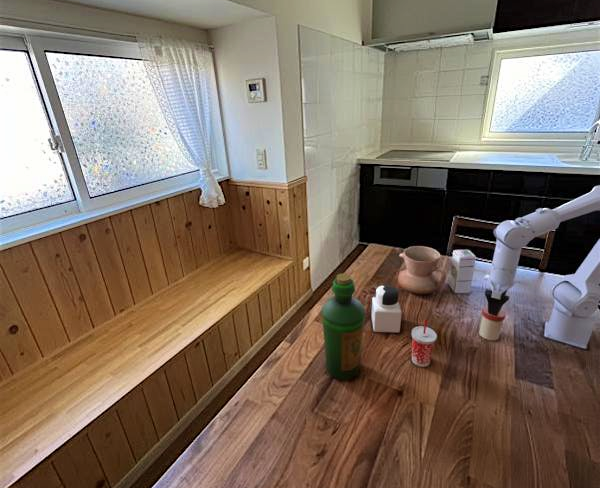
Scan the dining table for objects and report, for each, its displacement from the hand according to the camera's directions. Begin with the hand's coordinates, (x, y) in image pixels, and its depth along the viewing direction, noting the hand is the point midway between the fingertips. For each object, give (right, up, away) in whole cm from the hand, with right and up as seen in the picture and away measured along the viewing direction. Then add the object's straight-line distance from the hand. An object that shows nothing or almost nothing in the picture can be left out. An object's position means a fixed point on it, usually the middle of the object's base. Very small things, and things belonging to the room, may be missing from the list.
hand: (494, 307), depth 94 cm
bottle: (-44, -15, -5) cm, 46 cm away
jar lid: (0, -1, +1) cm, 2 cm away
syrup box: (+2, +1, +26) cm, 26 cm away
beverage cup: (-22, -13, -4) cm, 27 cm away
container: (-28, -7, +10) cm, 31 cm away
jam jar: (0, -9, +4) cm, 9 cm away
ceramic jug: (-11, +1, +28) cm, 30 cm away
